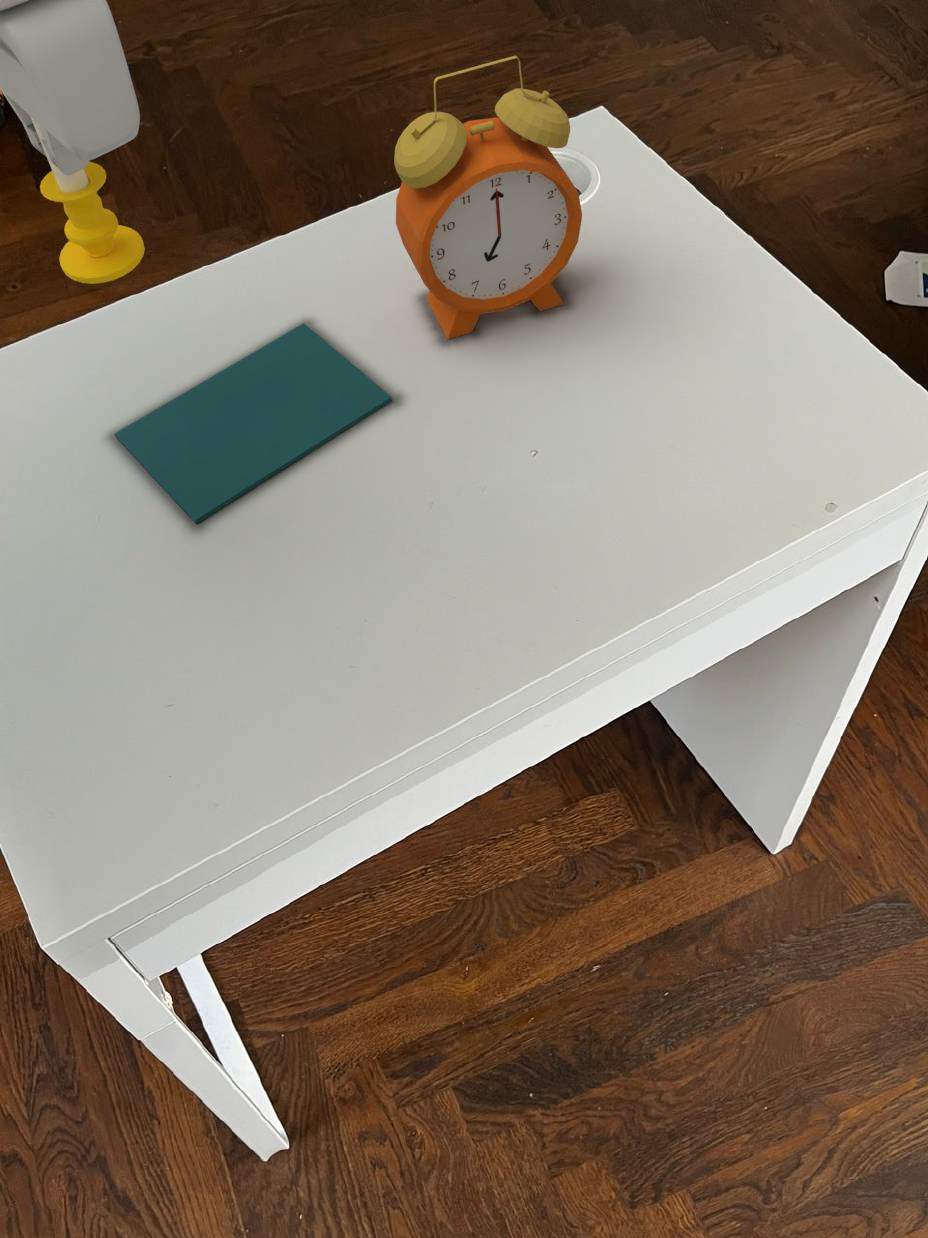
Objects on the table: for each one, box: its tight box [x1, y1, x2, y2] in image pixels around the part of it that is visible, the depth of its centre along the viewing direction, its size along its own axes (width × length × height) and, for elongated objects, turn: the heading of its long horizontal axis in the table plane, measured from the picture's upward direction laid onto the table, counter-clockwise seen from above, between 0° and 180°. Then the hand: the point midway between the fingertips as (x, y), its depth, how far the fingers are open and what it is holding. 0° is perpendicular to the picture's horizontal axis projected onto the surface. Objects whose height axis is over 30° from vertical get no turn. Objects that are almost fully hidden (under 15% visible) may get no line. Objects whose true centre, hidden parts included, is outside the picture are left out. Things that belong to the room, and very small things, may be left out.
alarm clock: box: [393, 55, 583, 340], centre depth 86 cm, size 13×6×20 cm, turn 110°
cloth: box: [114, 322, 393, 525], centre depth 89 cm, size 18×12×1 cm, turn 129°
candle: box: [30, 116, 146, 285], centre depth 65 cm, size 5×5×16 cm
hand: (63, 157), depth 66 cm, fingers closed on candle
